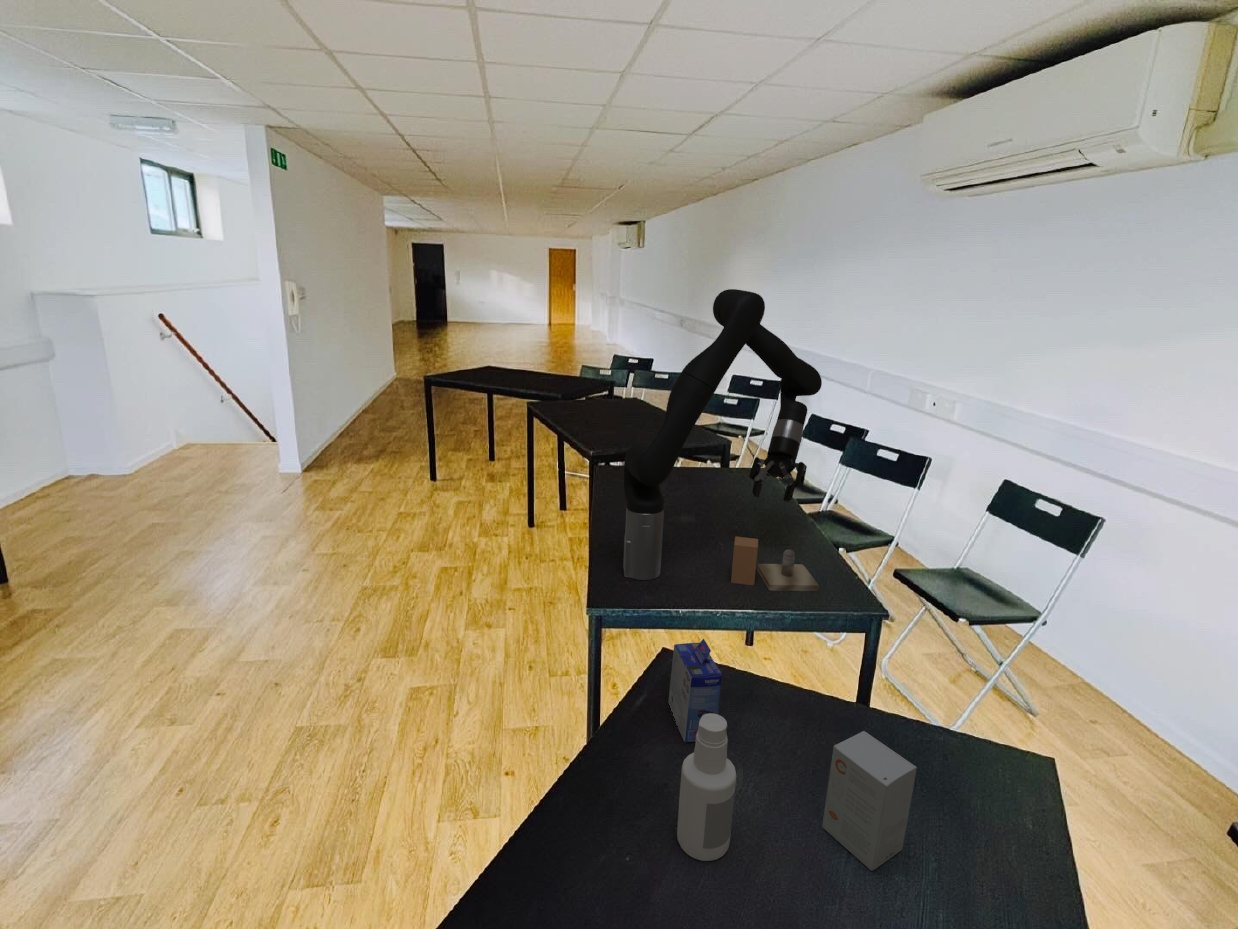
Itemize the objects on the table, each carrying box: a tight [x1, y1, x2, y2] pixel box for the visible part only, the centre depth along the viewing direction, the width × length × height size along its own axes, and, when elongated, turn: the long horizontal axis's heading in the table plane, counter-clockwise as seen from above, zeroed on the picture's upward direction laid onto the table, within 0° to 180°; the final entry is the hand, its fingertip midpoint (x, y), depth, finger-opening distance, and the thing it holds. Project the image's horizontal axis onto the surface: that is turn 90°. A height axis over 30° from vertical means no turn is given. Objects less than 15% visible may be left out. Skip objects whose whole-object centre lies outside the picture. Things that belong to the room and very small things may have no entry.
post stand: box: [756, 548, 820, 592], centre depth 157 cm, size 12×12×8 cm
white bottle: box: [676, 713, 737, 862], centre depth 80 cm, size 7×7×18 cm
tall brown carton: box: [730, 536, 759, 586], centre depth 156 cm, size 6×6×10 cm
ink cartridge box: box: [667, 638, 723, 743], centre depth 103 cm, size 10×6×14 cm, turn 12°
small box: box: [821, 730, 918, 872], centre depth 82 cm, size 8×6×13 cm
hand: (770, 498), depth 162 cm, fingers open, 8 cm apart
